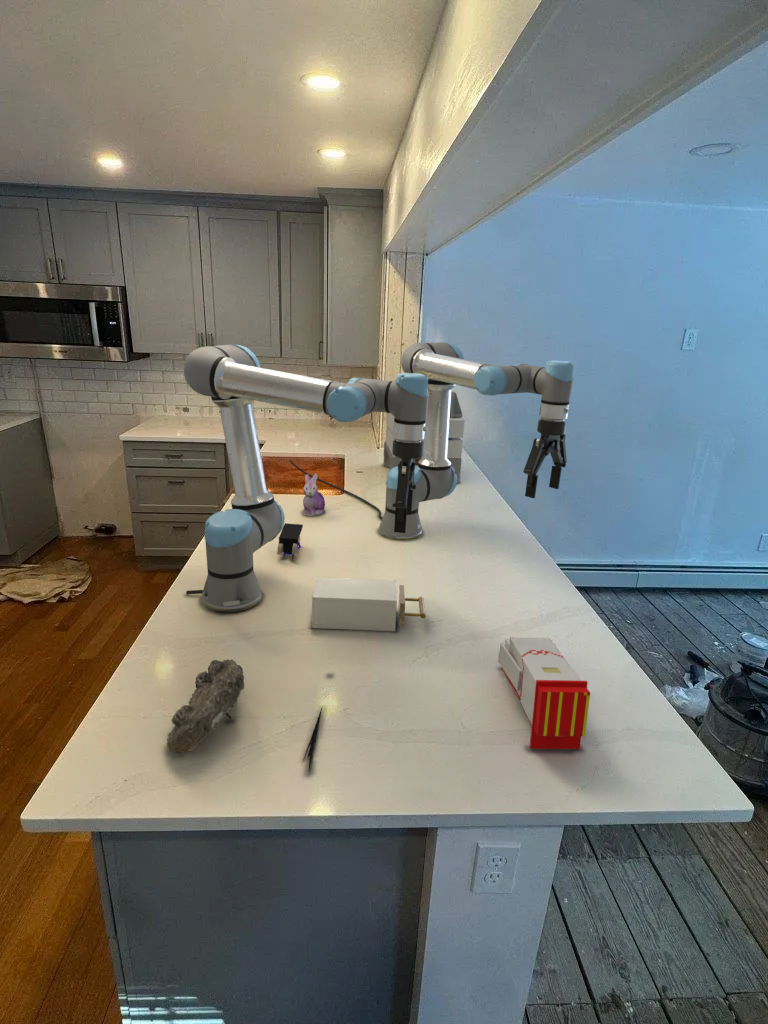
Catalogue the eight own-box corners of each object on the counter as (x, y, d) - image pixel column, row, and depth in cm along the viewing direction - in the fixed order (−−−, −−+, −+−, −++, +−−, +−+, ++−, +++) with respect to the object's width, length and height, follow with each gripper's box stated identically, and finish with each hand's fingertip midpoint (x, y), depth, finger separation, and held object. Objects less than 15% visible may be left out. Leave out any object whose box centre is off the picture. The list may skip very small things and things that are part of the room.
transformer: (382, 463, 289) (386, 382, 275) (445, 464, 293) (451, 384, 279) (390, 482, 257) (394, 392, 243) (460, 483, 261) (468, 394, 247)
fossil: (192, 660, 117) (244, 628, 112) (224, 691, 120) (276, 661, 115) (142, 746, 98) (202, 712, 93) (182, 779, 101) (242, 748, 96)
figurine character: (298, 566, 175) (304, 542, 188) (297, 544, 171) (303, 521, 185) (276, 565, 174) (283, 541, 188) (275, 544, 171) (282, 521, 184)
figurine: (306, 518, 210) (306, 479, 205) (297, 509, 219) (297, 471, 214) (330, 515, 214) (330, 476, 209) (320, 506, 223) (320, 469, 218)
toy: (546, 620, 128) (599, 688, 99) (541, 675, 131) (591, 756, 102) (493, 619, 128) (531, 687, 99) (489, 674, 131) (524, 755, 101)
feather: (331, 679, 122) (336, 673, 122) (307, 777, 96) (313, 769, 95) (324, 675, 122) (329, 669, 121) (298, 772, 95) (304, 764, 95)
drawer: (422, 608, 149) (424, 586, 147) (425, 627, 140) (427, 604, 138) (330, 604, 149) (330, 582, 146) (326, 623, 140) (326, 600, 137)
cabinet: (394, 609, 150) (396, 580, 147) (395, 631, 140) (396, 600, 137) (317, 606, 150) (317, 577, 147) (312, 627, 139) (312, 597, 136)
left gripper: (419, 453, 124) (412, 542, 131) (428, 430, 147) (422, 507, 154) (385, 450, 125) (380, 539, 132) (399, 428, 148) (394, 505, 155)
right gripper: (542, 426, 145) (531, 504, 152) (586, 416, 162) (574, 487, 169) (516, 421, 150) (507, 497, 157) (561, 412, 167) (551, 481, 174)
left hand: (403, 522), depth 143 cm, fingers open, 13 cm apart
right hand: (542, 492), depth 163 cm, fingers open, 13 cm apart
